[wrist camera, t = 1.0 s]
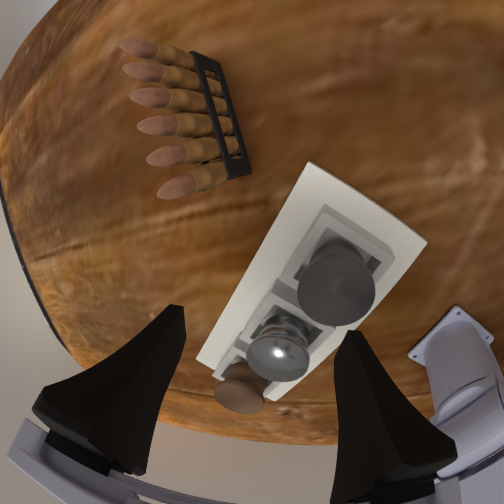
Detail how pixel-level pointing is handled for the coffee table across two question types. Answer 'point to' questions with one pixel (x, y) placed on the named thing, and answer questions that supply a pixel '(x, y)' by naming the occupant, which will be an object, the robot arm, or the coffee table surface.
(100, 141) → the coffee table surface
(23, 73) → the coffee table surface
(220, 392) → the knob walnut
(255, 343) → the knob steel
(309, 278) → the knob graphite
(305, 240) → the mount board
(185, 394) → the coffee table surface
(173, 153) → the ammunition clip
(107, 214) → the coffee table surface
